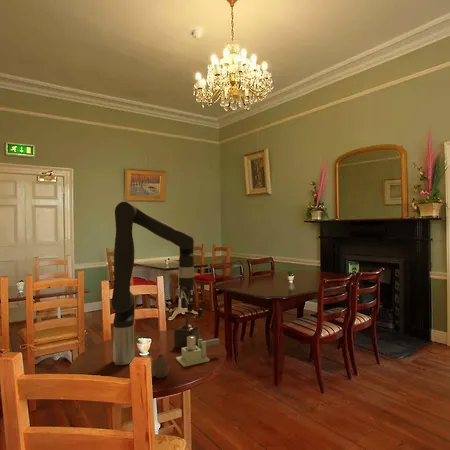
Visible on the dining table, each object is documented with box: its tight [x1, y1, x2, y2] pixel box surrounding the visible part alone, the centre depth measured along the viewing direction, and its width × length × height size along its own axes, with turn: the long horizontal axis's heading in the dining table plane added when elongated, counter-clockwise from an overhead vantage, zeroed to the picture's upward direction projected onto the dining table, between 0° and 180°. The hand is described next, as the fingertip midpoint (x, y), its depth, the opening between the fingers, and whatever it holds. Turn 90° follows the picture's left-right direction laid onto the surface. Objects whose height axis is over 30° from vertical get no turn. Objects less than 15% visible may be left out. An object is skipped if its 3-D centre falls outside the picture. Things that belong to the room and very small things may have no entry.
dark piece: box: [173, 308, 205, 350], centre depth 192 cm, size 16×11×18 cm
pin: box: [199, 338, 220, 347], centre depth 174 cm, size 10×2×2 cm, turn 118°
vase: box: [151, 354, 170, 379], centre depth 153 cm, size 7×7×9 cm
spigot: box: [187, 336, 196, 352], centre depth 169 cm, size 4×4×10 cm
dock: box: [175, 338, 211, 368], centre depth 170 cm, size 13×10×8 cm
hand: (186, 309), depth 172 cm, fingers open, 8 cm apart
